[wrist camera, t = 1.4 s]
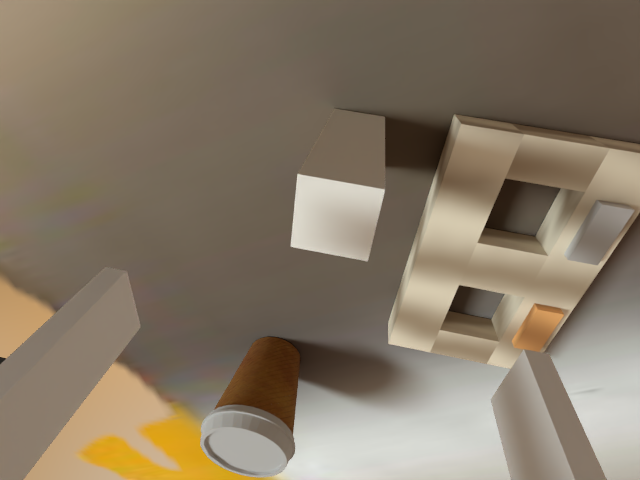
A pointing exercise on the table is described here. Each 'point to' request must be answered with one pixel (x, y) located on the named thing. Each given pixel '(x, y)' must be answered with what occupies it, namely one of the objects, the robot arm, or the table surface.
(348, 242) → the plug
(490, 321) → the socket plate
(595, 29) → the table surface
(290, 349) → the disposable coffee cup
